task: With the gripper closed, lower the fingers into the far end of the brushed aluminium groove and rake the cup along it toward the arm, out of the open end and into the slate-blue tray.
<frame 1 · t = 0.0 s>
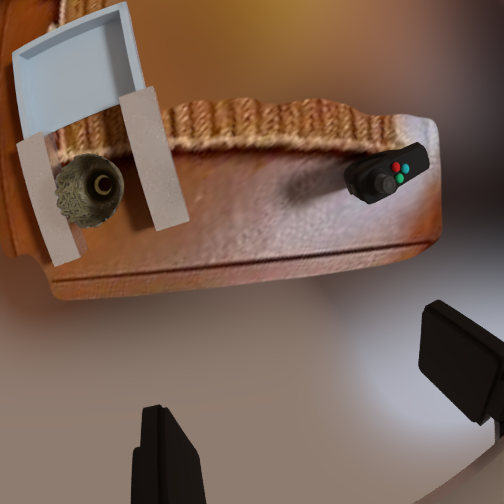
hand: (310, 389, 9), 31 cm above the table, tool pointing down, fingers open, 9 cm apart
controller: (364, 167, 41), on the table
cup: (105, 184, 35), on the table
tray: (78, 72, 29), on the table
groove rails: (102, 176, 34), on the table
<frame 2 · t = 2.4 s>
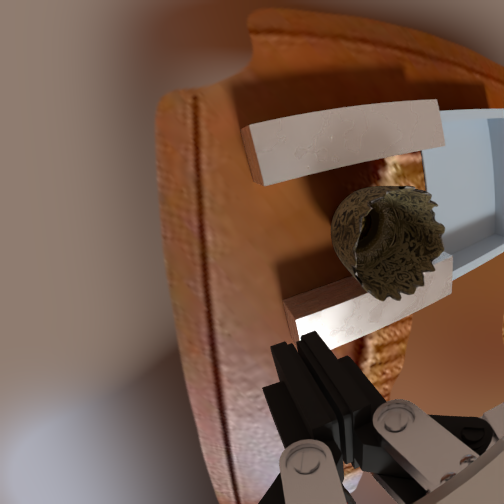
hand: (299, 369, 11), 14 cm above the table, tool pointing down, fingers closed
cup: (347, 220, 25), on the table
tray: (466, 184, 27), on the table
groove rails: (358, 217, 25), on the table
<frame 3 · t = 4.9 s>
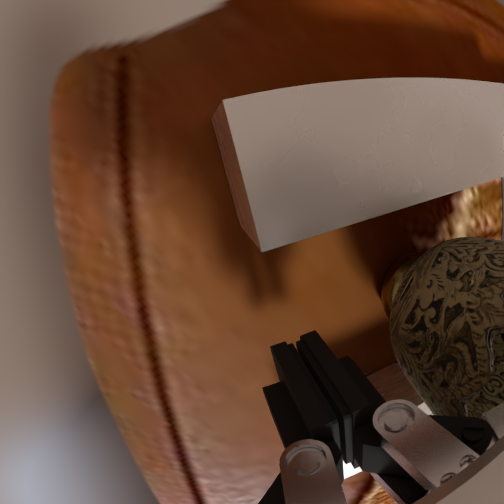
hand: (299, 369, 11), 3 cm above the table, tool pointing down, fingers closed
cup: (402, 281, 14), on the table, touching gripper
groove rails: (418, 276, 14), on the table
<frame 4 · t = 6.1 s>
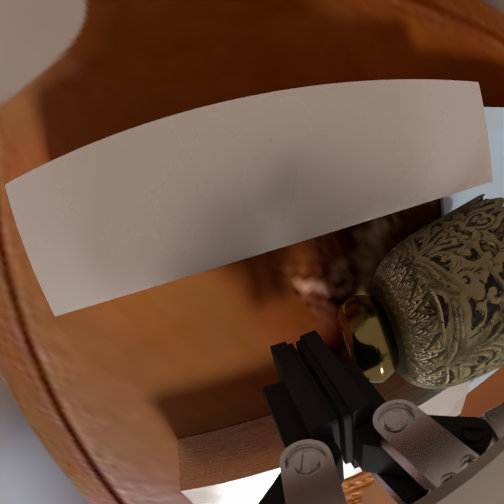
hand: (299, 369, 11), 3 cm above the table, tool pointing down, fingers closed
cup: (342, 349, 11), point 2 cm above the table, touching gripper, tray
groove rails: (307, 322, 13), on the table
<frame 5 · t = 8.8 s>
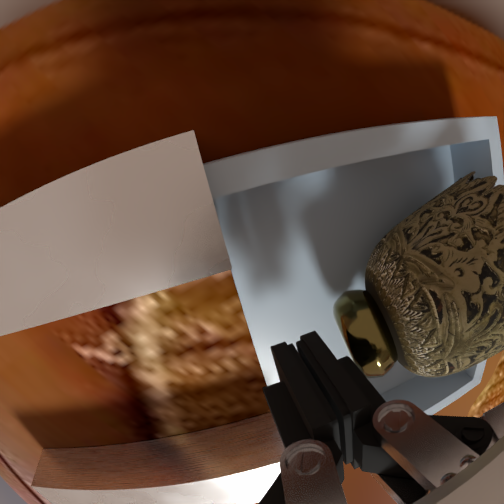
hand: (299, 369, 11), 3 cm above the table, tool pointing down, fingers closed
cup: (340, 345, 11), point 3 cm above the table, touching gripper, tray
tray: (378, 296, 14), on the table
groove rails: (98, 380, 13), on the table
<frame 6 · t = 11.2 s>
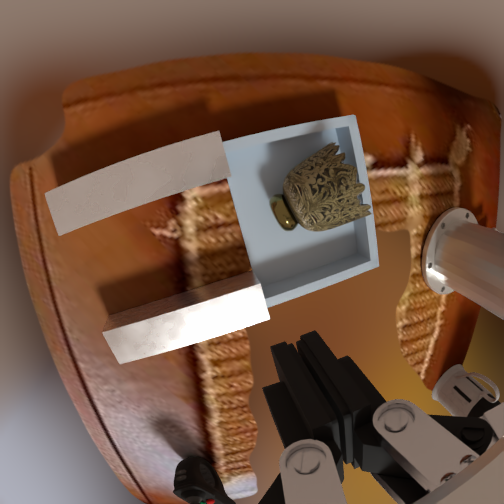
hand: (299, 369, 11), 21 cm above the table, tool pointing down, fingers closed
controller: (200, 462, 40), on the table
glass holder: (448, 373, 48), on the table
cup: (273, 217, 29), point 2 cm above the table, touching tray
tray: (301, 205, 31), on the table
groove rails: (160, 249, 29), on the table
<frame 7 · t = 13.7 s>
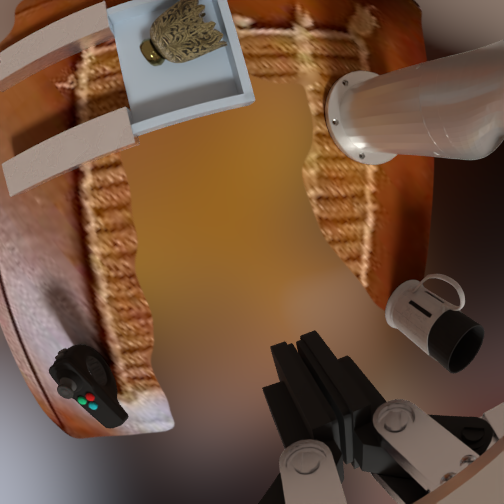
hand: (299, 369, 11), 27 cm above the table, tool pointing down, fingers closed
controller: (99, 362, 38), on the table
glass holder: (403, 290, 46), on the table
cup: (144, 57, 27), point 2 cm above the table, touching tray
tray: (177, 56, 29), on the table
groove rails: (60, 98, 28), on the table
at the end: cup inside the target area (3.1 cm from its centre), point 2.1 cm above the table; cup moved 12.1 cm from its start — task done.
